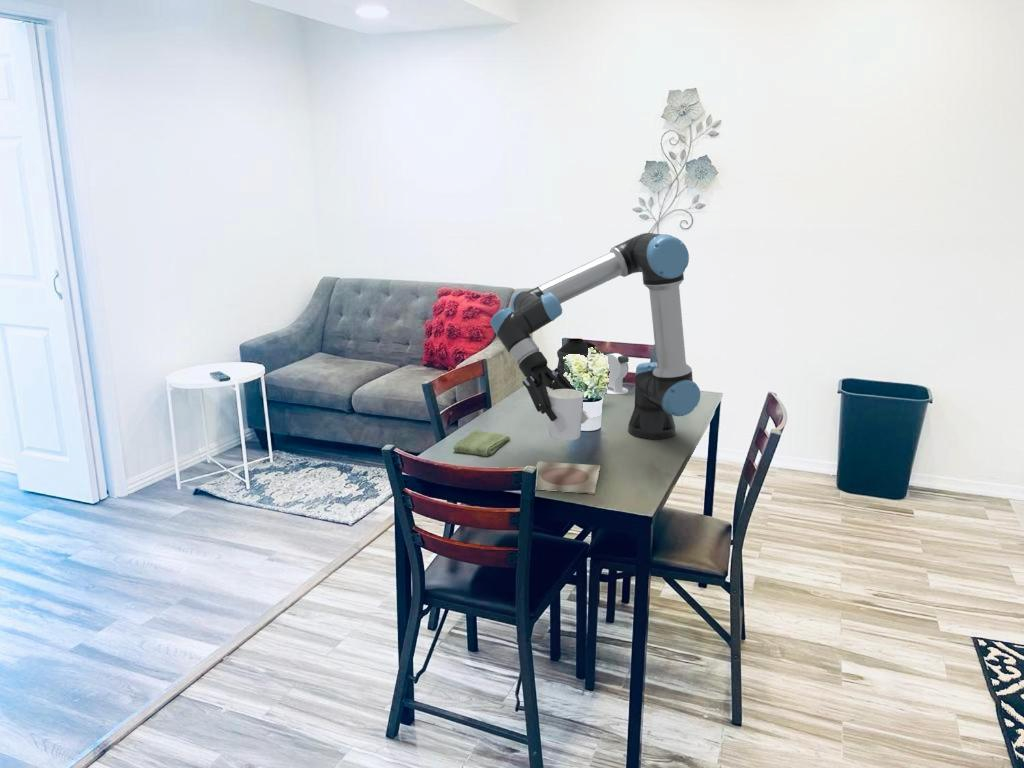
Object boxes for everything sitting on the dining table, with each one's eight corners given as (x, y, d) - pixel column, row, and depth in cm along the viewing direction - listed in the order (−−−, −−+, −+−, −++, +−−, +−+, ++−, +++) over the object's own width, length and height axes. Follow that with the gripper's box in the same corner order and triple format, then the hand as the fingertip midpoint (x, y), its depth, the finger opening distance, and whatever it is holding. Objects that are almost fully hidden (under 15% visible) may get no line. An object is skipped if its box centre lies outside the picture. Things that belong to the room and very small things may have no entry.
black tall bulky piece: (540, 409, 272) (541, 341, 266) (567, 397, 288) (568, 332, 281) (581, 416, 263) (582, 346, 257) (606, 403, 279) (608, 337, 273)
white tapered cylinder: (587, 433, 207) (588, 391, 204) (575, 444, 199) (576, 400, 196) (554, 428, 211) (554, 387, 208) (541, 439, 203) (541, 395, 200)
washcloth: (512, 441, 240) (512, 431, 239) (489, 459, 224) (489, 449, 223) (474, 436, 245) (474, 426, 244) (450, 453, 229) (449, 443, 228)
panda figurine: (635, 392, 294) (636, 354, 290) (611, 396, 288) (613, 358, 284) (616, 385, 304) (617, 349, 300) (593, 389, 298) (594, 352, 294)
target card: (600, 467, 216) (600, 465, 216) (594, 494, 197) (594, 492, 197) (538, 463, 219) (538, 461, 219) (526, 489, 200) (526, 487, 200)
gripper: (545, 359, 218) (589, 423, 212) (495, 373, 202) (541, 442, 196) (560, 344, 214) (606, 408, 208) (510, 357, 198) (558, 427, 192)
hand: (574, 425), depth 202 cm, fingers closed on white tapered cylinder, 9 cm apart
